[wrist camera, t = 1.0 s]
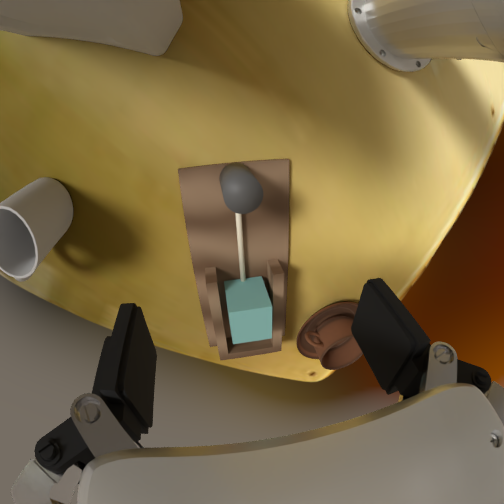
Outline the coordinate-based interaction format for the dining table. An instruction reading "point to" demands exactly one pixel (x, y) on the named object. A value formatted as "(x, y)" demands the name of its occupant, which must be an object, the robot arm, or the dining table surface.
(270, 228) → the lane
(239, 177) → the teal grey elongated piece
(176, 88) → the dining table surface
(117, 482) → the robot arm
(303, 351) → the cup and saucer
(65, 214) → the cup
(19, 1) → the tall white carton
